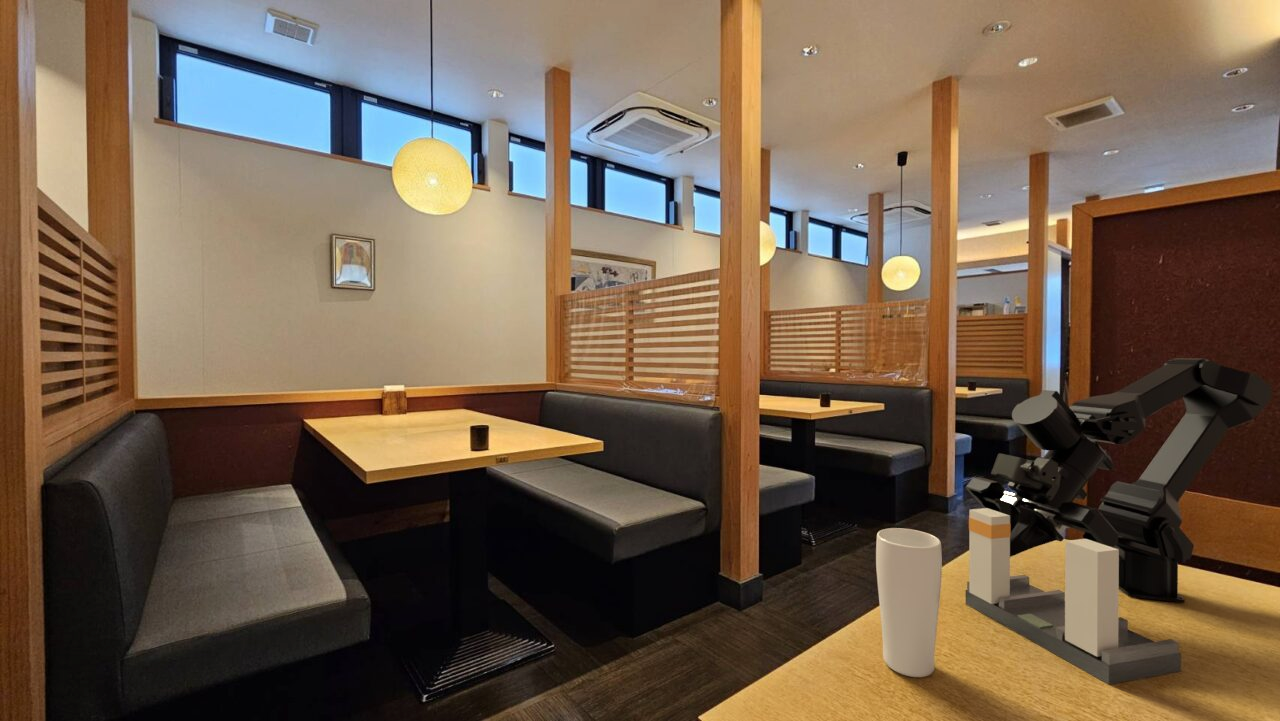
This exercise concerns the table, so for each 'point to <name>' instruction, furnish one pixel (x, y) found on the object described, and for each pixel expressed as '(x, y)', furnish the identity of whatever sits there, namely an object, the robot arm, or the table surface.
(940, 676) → the table surface
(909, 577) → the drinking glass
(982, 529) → the lever
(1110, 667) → the box
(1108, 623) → the on lever
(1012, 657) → the table surface
